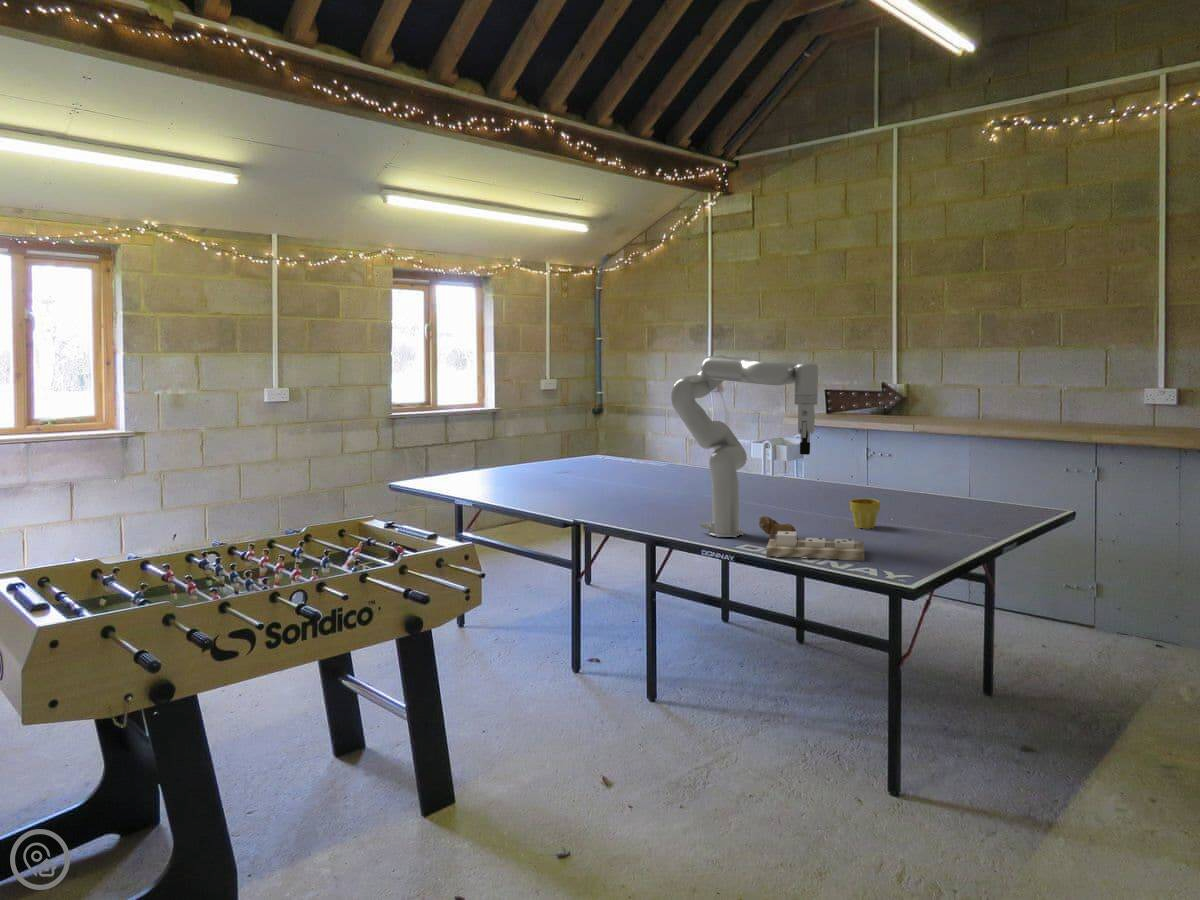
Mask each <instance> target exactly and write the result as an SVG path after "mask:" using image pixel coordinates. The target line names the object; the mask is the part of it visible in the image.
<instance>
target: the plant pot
mask: <svg viewBox="0 0 1200 900" xmlns="http://www.w3.org/2000/svg"><path fill="white" fill-rule="evenodd" d="M880 505H881V502H880V500H878V499H874V498H854V499H851V500H850V501H849V509H850V511H851V513H852V517H853V523H854V526H855V528H856V527H857V528H856V529H859V528H863V529H862V530H871V529H870V528H872V529H874V528H875V525H876V522H877V517H878V512H879V511H880V508H881V506H880Z"/></svg>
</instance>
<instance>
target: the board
mask: <svg viewBox="0 0 1200 900" xmlns="http://www.w3.org/2000/svg"><path fill="white" fill-rule="evenodd" d="M805 541H806V539H799V540H797V545H796V547H793V546H777V538H774V539H771V538H769V540H768V542H767V545H766V547H765V551H766V553H765V554H766V555H767V556H779V557H807V558H827V559H826V560H830V559H839V560H838V561H857V562H858V561H859V562H860V561H863V562H865V545H864V543H865V542H864V541H854V549H852V548H834V543H835V540H825V548H822V547H805ZM766 555H765V556H766Z"/></svg>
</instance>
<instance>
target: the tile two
mask: <svg viewBox="0 0 1200 900" xmlns="http://www.w3.org/2000/svg"><path fill="white" fill-rule="evenodd" d="M805 540H806V541H805V547H822V548H825V541H826V537H808V536H807V537H805Z"/></svg>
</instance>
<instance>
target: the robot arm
mask: <svg viewBox="0 0 1200 900" xmlns="http://www.w3.org/2000/svg"><path fill="white" fill-rule="evenodd" d="M700 368H701V370H700V371H699V372H698V373H697V374H693V375H686V376H682V377H680V378H679V379H678V380H677V381H676V382H675V383H674V385H673V387H672V388H671V389H672V390H671V393H670V395H671V396H670V399H671V404H672V407H673V409H674V411H675V412H676V414H677V415H678V417H679V418H680V420H681V421H682V422H683V423H684V425H685V426H686V428H687V429H688V431H689V433H690V434H691V435H692V437H693V438H694V440H695V441H696V443H697V444H698V445H699V446H700V447H701V448H703V449H704V450H709V449H713V450H714V451H713V452H712V453H711V455H710V457H709V463H708V464H709V471H710V478H711V503H712V504H711V507H712V509H711V510H712V520H711V521H709V522H700V526H699V527H700V528H701V529H703V530H706V529H709V530H708V531H707V533H708V535H709V534H710V535H713V536H720V537H733V536H738V535H742V534H743V533H744V530H743V529H741V528H740V494H739V493H740V488H739V478H738V472H737V471H738V470H740V469H742V468H744V467H745V465H746V464H747V460H748V456H747V452H746V450H745V448H744V447H743V445H742V444H741V442H740V441H739V439H738V438H737V437H736V435H735V434H734V432H733V431H732V430H731V428H730V427H729V426H728V425H727V424H726V423H725V422H723V421H722V420H721V421H720V420H712V419H711V418H710V417H709V415H708V414H707V413H706V411H705V409H704V408H703V407H702V406H701V405H700V404H699V403H698V402H697V400H696V399H701V398H704V397H706V396H708V395H709V394H710V393H711V392H712V391H713V390H715V389H716V388H717V387H719V386H720V385H721V384H722V383H723V382H724V381H727V382H736V383H746V384H756V385H766V386H767V385H768V386H783V385H790V384H794V405H797V431H798V434H799V435H800V442H799V454H800V455H811V442H810V438H811V437H810V436H811V435H813V434H814V433H815V420H816V419H815V418H816V417H815V415H816V414H815V413H816V412H815V409H816V408H815V406H817V405H818V402H819V401H818V393H819V392H818V390H819V389H818V388H819V366H818V364H817V363H815V362H801V363H797V362H791V361H789V362H788V361H784V362H782V361H781V362H767V361H756V360H755V361H754V360H752V359H750V358H748V357H738V356H737V357H735V356H726V355H722V354H721V355H719V354H718V355H717V354H716V355H710V356H707V357H706V358H704V359H703V361H702V362H701V367H700ZM710 535H709V536H710ZM743 535H744V534H743ZM743 535H742V536H743Z"/></svg>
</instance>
